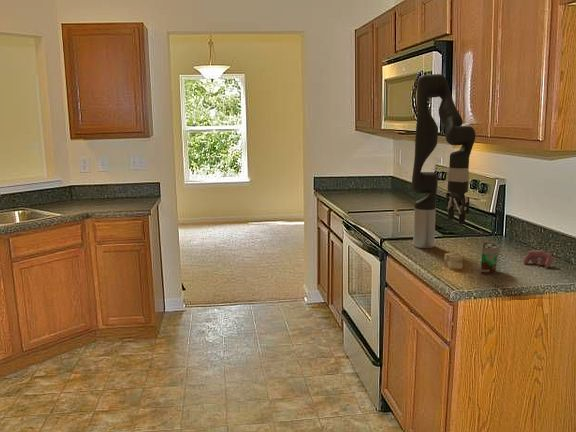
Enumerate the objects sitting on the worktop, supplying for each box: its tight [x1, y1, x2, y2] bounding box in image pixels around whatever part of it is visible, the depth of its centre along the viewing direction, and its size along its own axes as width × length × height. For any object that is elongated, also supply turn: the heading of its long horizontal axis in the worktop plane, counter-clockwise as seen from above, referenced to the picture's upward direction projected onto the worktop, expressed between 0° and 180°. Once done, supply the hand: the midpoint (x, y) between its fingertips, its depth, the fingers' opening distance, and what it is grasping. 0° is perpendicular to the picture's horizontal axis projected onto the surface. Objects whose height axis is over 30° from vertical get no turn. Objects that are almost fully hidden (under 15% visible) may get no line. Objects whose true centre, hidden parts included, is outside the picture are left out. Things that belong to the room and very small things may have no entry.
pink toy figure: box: [523, 249, 554, 269], centre depth 219 cm, size 10×5×7 cm, turn 44°
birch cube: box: [443, 252, 464, 270], centre depth 216 cm, size 5×5×5 cm
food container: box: [480, 241, 501, 275], centre depth 210 cm, size 12×6×10 cm, turn 158°
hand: (456, 221), depth 214 cm, fingers open, 8 cm apart
